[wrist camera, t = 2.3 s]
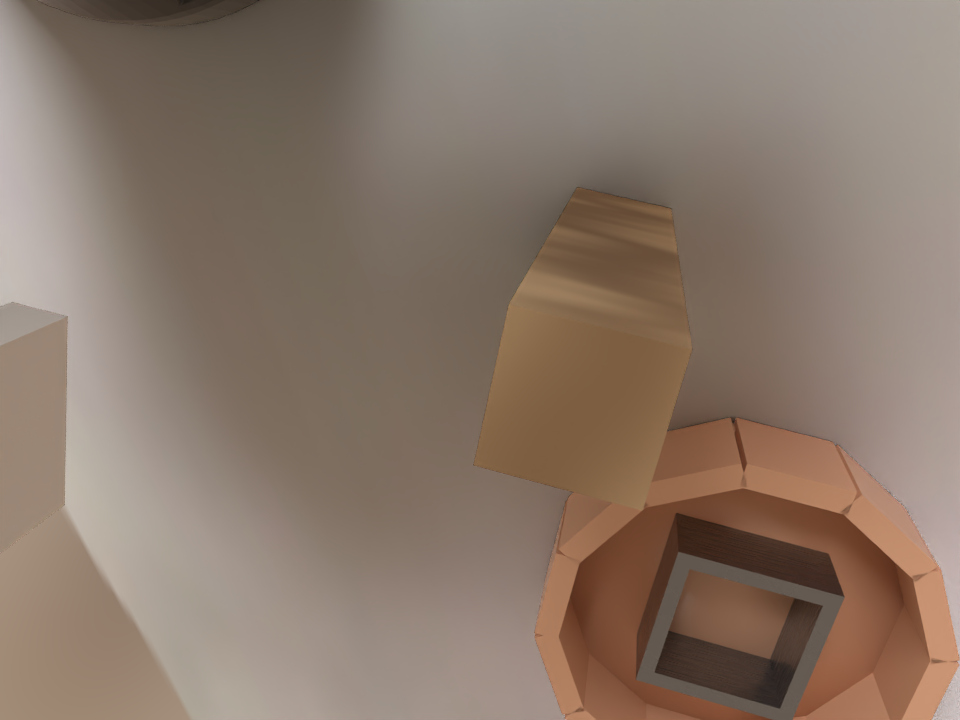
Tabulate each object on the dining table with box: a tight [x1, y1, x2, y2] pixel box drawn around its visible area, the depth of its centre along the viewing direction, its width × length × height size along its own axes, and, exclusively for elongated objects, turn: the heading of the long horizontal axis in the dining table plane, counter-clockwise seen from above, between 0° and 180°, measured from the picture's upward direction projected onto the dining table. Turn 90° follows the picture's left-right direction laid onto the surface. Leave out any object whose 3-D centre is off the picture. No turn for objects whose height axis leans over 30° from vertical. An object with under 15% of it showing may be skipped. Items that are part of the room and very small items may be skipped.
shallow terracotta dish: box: [534, 417, 959, 720], centre depth 29 cm, size 13×13×4 cm
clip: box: [636, 513, 845, 720], centre depth 29 cm, size 5×5×2 cm
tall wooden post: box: [474, 187, 692, 511], centre depth 21 cm, size 3×3×14 cm
